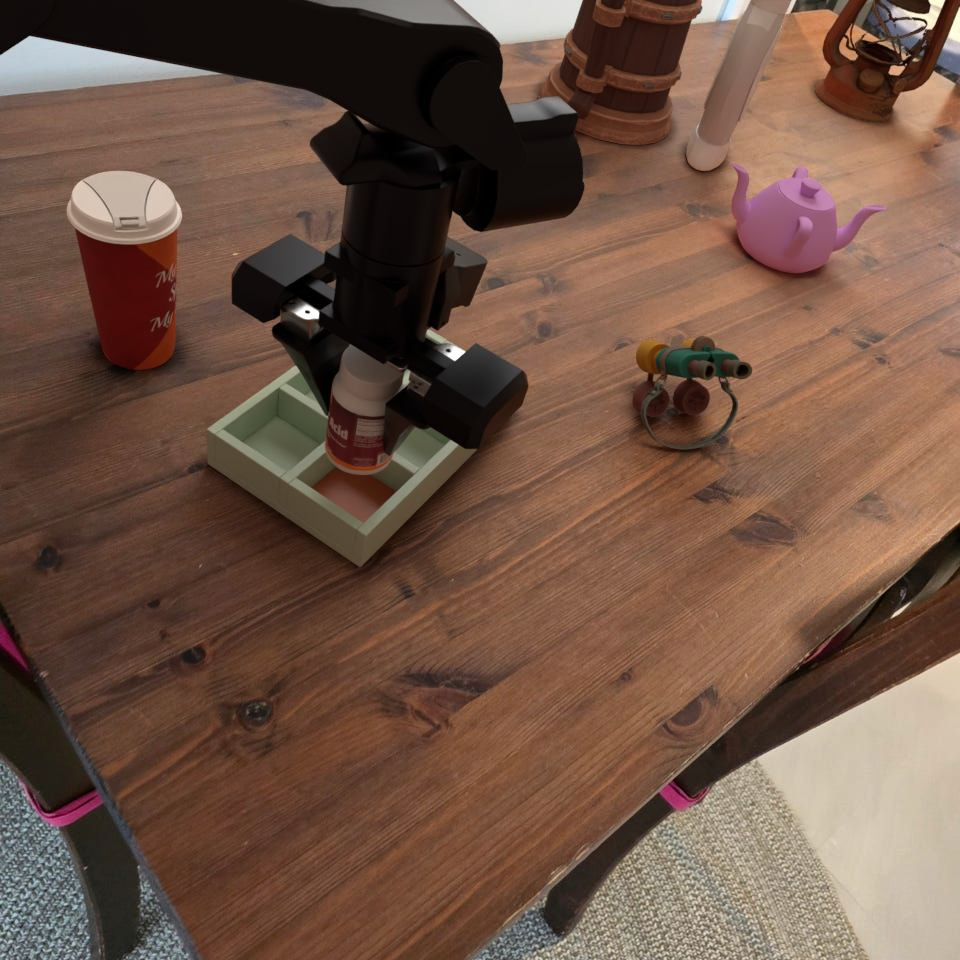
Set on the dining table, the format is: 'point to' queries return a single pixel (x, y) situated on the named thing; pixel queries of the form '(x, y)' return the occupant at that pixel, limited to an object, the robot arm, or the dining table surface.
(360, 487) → the divided tray
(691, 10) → the mug
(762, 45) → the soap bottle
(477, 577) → the dining table surface
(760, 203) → the teapot
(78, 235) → the paper cup
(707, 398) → the binoculars
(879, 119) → the lantern
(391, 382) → the pill bottle
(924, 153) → the dining table surface
